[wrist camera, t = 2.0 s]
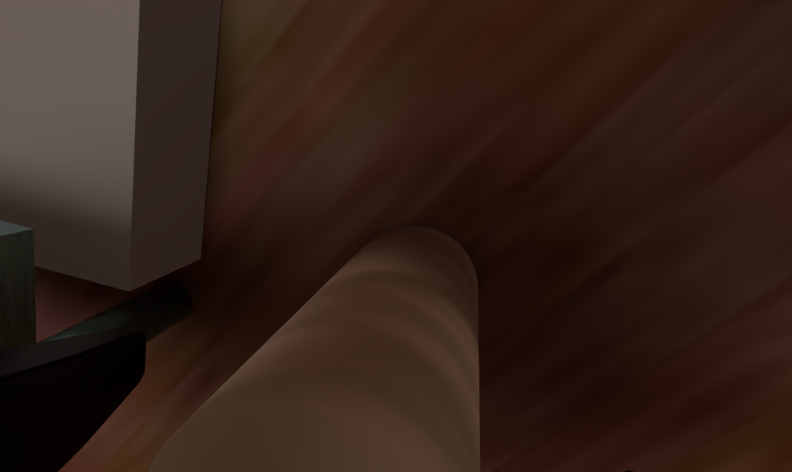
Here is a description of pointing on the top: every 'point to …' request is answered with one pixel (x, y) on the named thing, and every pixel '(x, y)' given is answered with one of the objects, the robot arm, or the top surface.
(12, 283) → the green raised slab
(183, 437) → the peg
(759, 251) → the top surface
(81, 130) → the socket
